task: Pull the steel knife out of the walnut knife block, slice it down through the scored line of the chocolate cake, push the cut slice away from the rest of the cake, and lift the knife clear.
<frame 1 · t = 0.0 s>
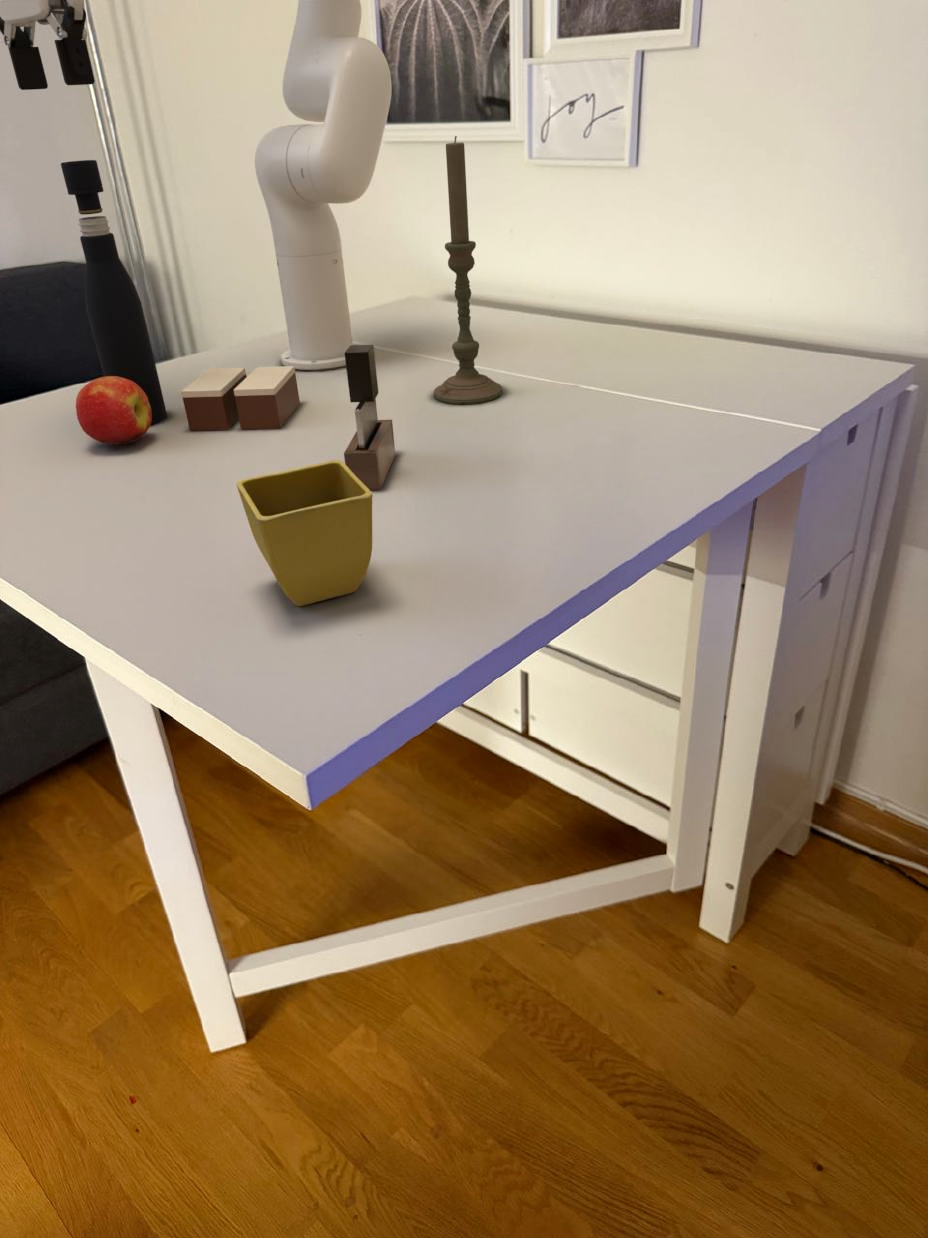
hand: (56, 86, 98), 37 cm above the table, tool pointing down, fingers open, 9 cm apart
apple: (121, 445, 109), on the table
flower pot: (318, 590, 74), on the table
pepper grinder: (142, 421, 117), on the table
cake: (221, 417, 115), on the table
candlestick holder: (468, 395, 118), on the table
knife block: (373, 471, 96), on the table
knife: (366, 412, 93), in the knife block
cake slice: (271, 416, 115), on the table
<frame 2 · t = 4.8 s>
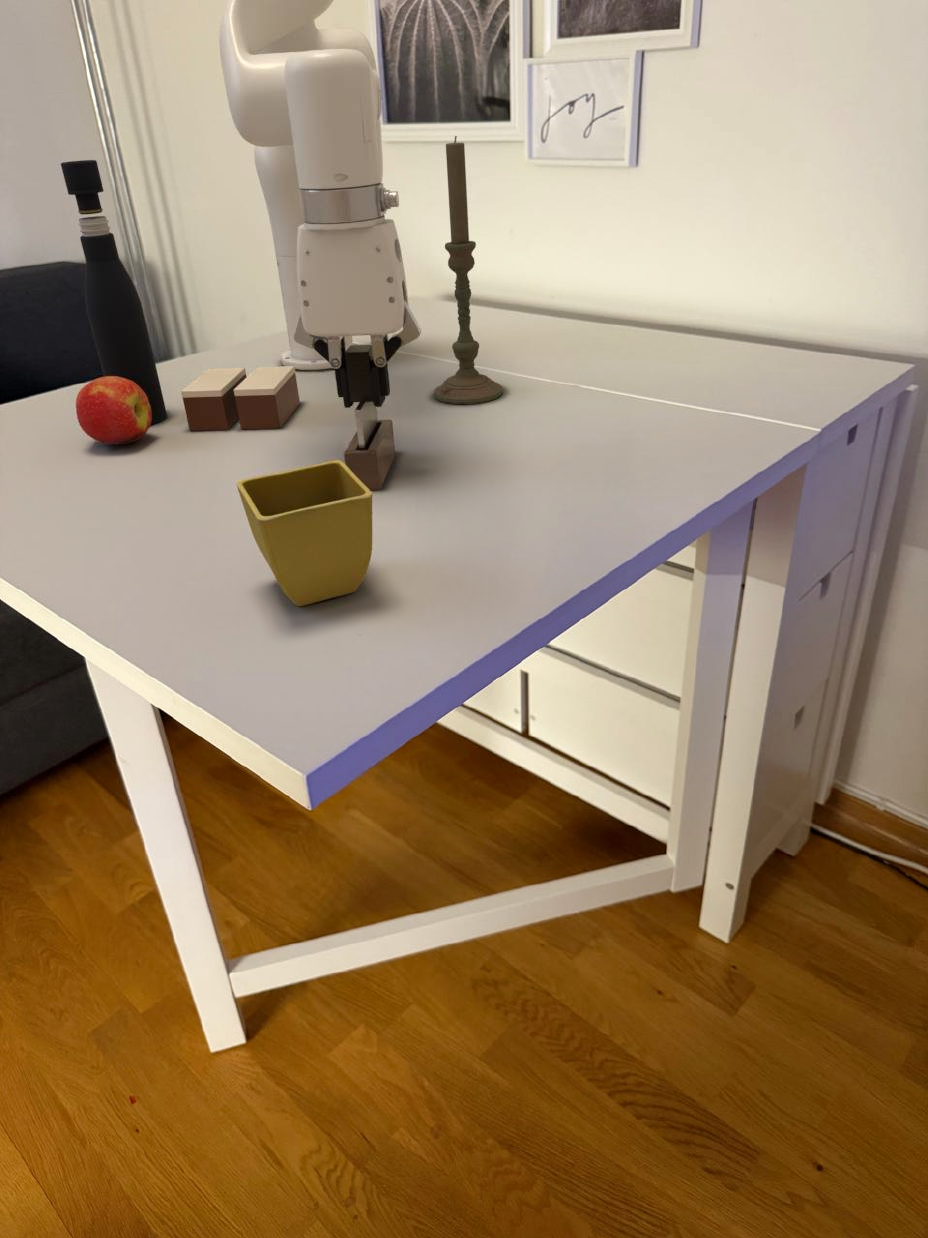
hand: (365, 401, 92), 8 cm above the table, tool pointing down, fingers closed on knife, 2 cm apart
knife: (366, 412, 93), in the knife block, touching gripper
everything else where it was.
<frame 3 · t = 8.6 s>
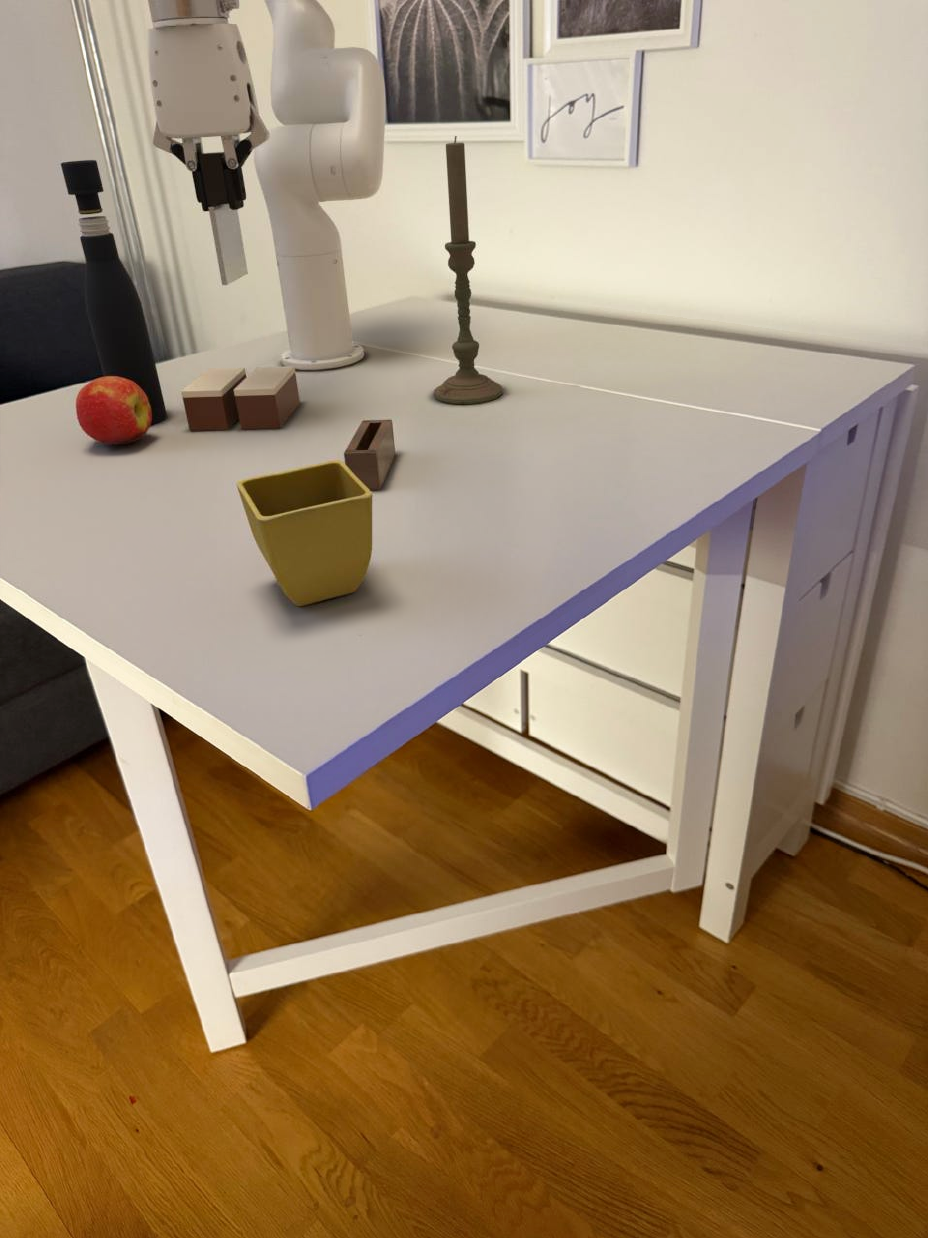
hand: (223, 207, 100), 25 cm above the table, tool pointing down, fingers closed on knife, 2 cm apart
knife: (225, 217, 100), point 24 cm above the table, touching gripper
everything else where it was.
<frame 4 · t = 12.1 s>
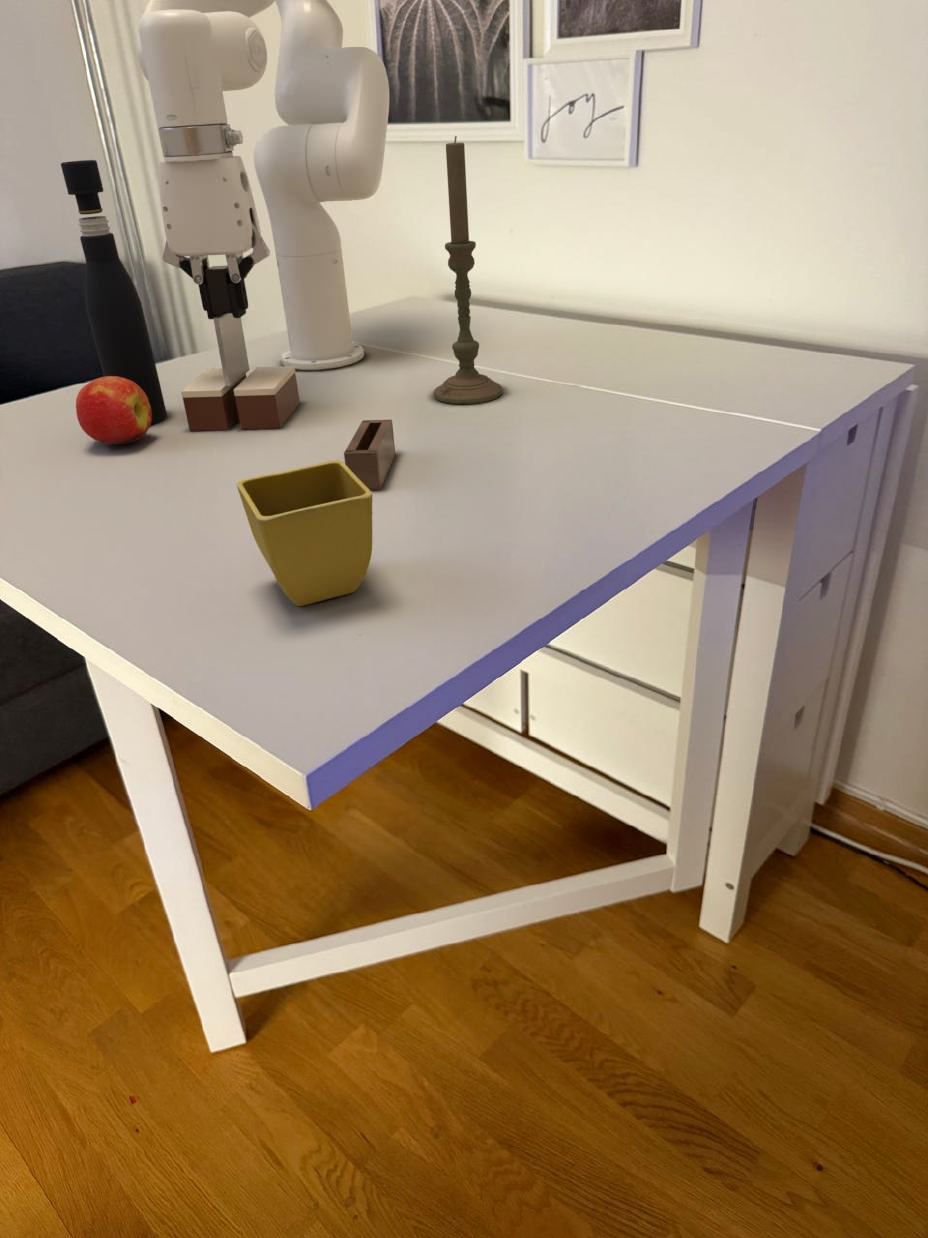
hand: (227, 314, 109), 13 cm above the table, tool pointing down, fingers closed on knife, 2 cm apart
knife: (228, 324, 109), point 12 cm above the table, touching gripper
everything else where it was.
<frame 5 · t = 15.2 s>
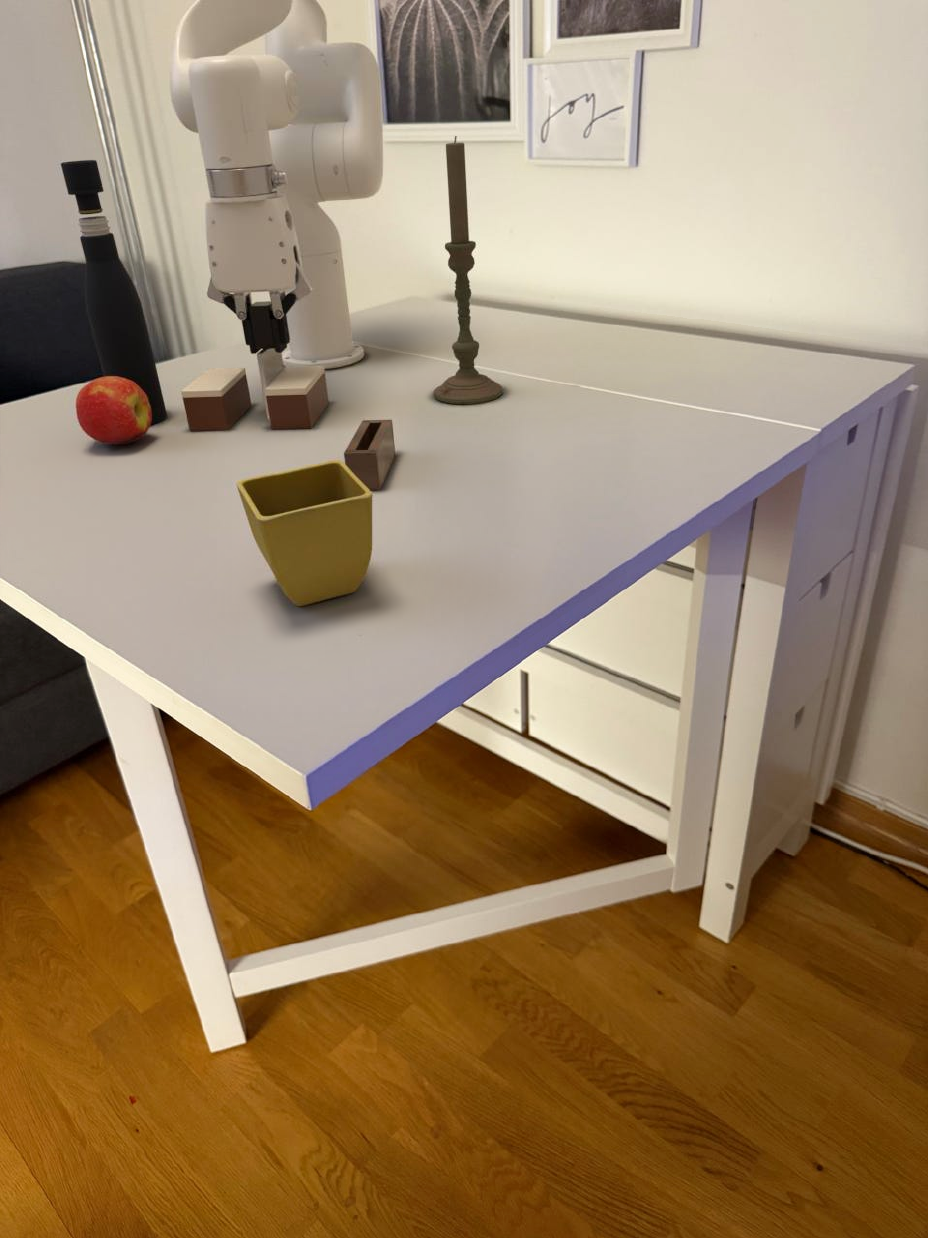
hand: (269, 349, 110), 8 cm above the table, tool pointing down, fingers closed on knife, 2 cm apart
knife: (270, 358, 111), point 7 cm above the table, touching cake slice, gripper
cake slice: (301, 416, 114), on the table, touching knife
everything else where it was.
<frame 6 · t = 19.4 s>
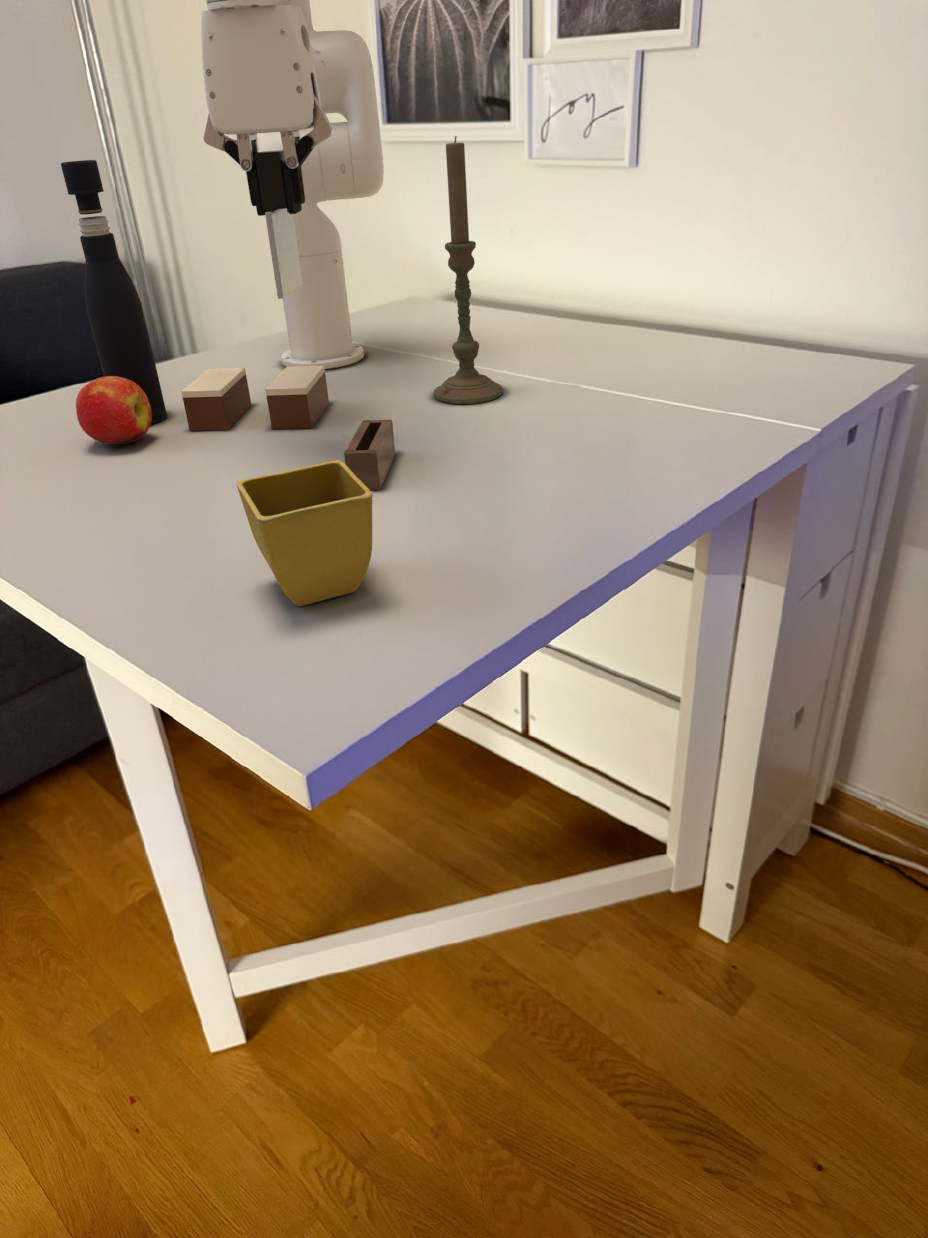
hand: (279, 211, 90), 25 cm above the table, tool pointing down, fingers closed on knife, 2 cm apart
knife: (281, 223, 90), point 24 cm above the table, touching gripper
cake slice: (301, 415, 114), on the table
everything else where it was.
at the end: cake slice moved 4.0 cm from its start; cake slice 0.7 cm from the target spot on the table beside the cake, on the table; the gripper is holding knife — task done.
